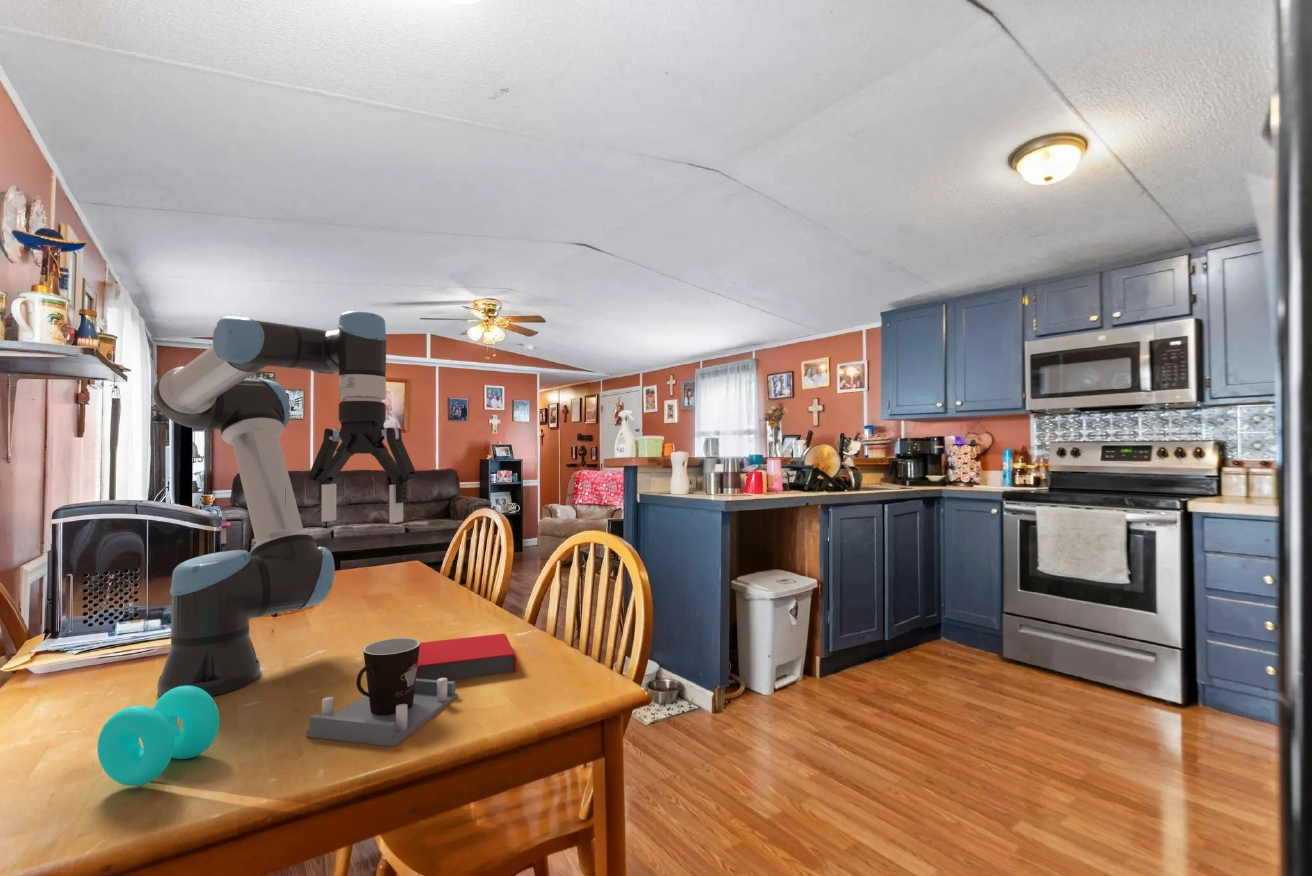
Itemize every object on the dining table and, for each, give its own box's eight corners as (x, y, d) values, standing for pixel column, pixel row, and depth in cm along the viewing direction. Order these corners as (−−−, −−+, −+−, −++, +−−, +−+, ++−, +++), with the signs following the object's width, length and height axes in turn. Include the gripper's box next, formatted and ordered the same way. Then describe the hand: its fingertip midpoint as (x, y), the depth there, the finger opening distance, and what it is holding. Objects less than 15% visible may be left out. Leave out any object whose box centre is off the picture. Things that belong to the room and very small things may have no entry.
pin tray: (306, 736, 93) (306, 706, 93) (381, 692, 110) (381, 667, 110) (394, 746, 89) (394, 715, 90) (457, 699, 106) (457, 673, 107)
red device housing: (506, 656, 130) (506, 633, 130) (516, 679, 116) (516, 653, 116) (415, 668, 123) (415, 642, 123) (415, 693, 110) (415, 665, 110)
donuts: (90, 787, 79) (91, 709, 79) (164, 749, 89) (164, 680, 89) (157, 793, 78) (158, 713, 78) (224, 754, 88) (225, 684, 88)
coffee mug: (403, 692, 107) (403, 634, 107) (430, 705, 102) (430, 644, 102) (334, 715, 98) (334, 652, 98) (359, 730, 93) (359, 663, 93)
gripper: (285, 401, 108) (285, 522, 107) (412, 397, 102) (412, 525, 102) (318, 404, 115) (317, 517, 115) (437, 401, 110) (437, 520, 109)
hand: (362, 521), depth 108 cm, fingers open, 13 cm apart
